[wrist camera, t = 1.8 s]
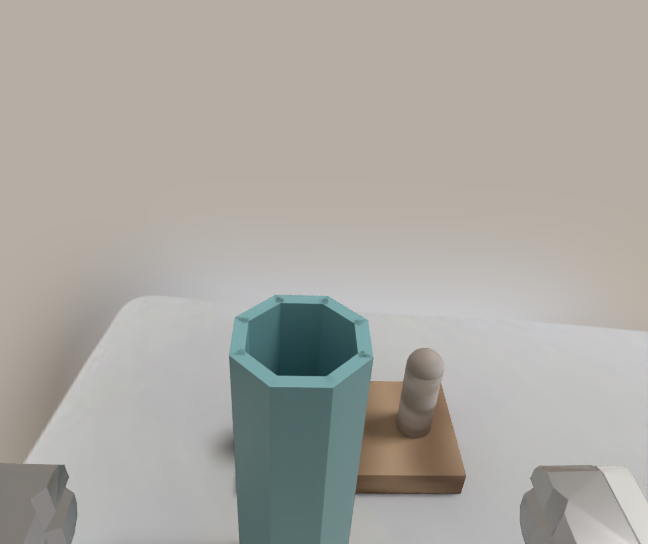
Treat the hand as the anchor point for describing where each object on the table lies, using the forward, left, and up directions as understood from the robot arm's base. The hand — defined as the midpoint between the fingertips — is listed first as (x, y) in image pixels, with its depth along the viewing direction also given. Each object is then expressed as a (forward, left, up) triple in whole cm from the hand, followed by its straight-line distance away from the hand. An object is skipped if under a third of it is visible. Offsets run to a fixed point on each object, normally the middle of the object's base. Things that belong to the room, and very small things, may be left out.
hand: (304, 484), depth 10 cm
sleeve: (-2, -12, -27) cm, 30 cm away
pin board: (-9, -22, -27) cm, 36 cm away
